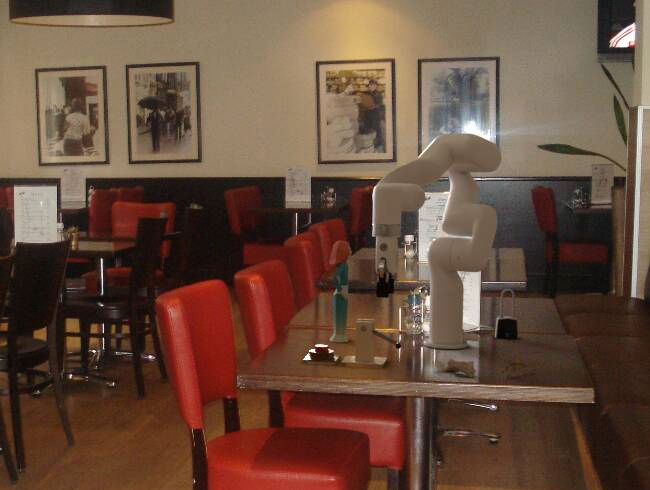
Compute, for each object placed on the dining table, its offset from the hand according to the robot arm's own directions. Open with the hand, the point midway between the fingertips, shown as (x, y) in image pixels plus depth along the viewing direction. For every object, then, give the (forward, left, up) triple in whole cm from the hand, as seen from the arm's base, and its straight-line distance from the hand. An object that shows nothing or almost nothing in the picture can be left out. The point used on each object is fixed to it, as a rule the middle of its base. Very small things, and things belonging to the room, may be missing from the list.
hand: (385, 295), depth 278 cm
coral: (-19, +11, -18) cm, 29 cm away
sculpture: (+17, -29, -18) cm, 39 cm away
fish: (-34, +9, -18) cm, 40 cm away
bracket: (+5, +4, -18) cm, 19 cm away
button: (+16, +4, -16) cm, 23 cm away
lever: (+1, +4, -11) cm, 12 cm away
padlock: (-31, -47, -18) cm, 60 cm away
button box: (+16, +4, -18) cm, 25 cm away
